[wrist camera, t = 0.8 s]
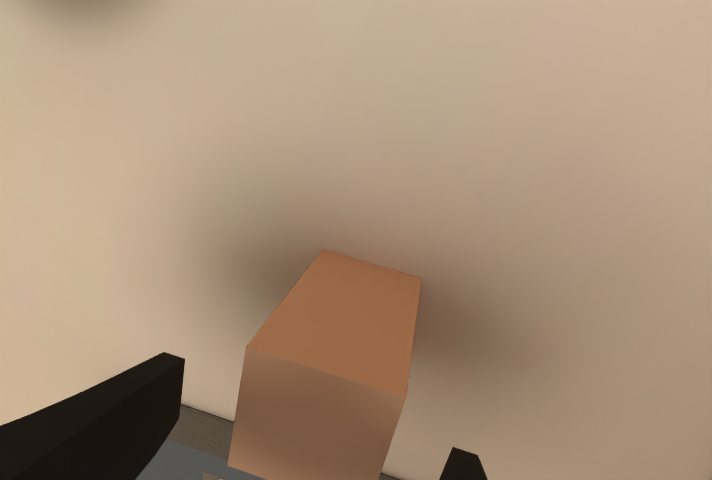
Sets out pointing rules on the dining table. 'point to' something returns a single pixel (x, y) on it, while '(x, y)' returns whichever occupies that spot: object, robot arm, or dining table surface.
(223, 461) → the grey square hole board
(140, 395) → the robot arm
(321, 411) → the square peg
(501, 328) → the dining table surface
